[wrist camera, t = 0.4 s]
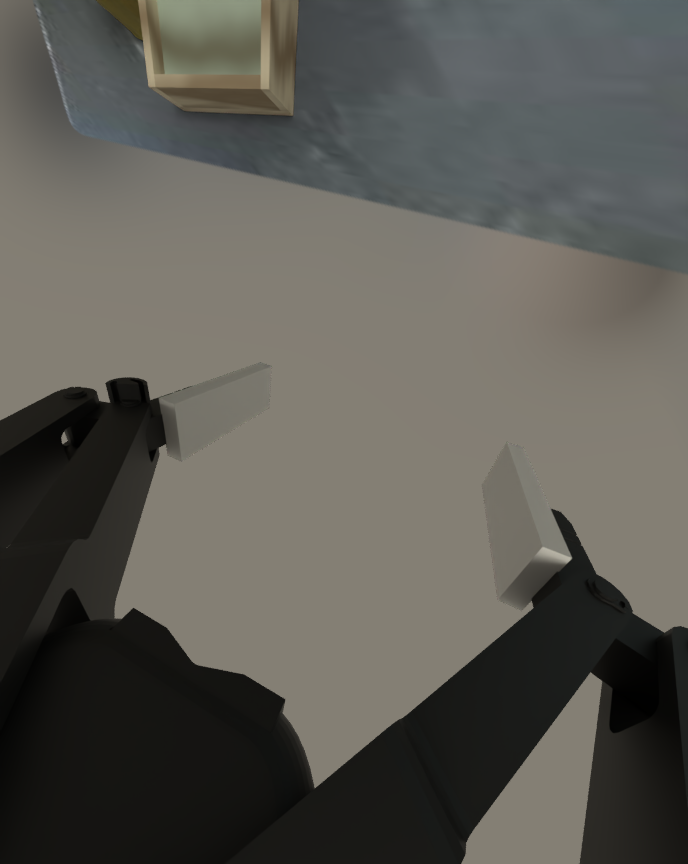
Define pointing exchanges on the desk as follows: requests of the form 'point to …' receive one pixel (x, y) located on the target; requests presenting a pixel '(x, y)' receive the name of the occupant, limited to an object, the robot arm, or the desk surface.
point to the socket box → (222, 54)
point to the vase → (125, 14)
